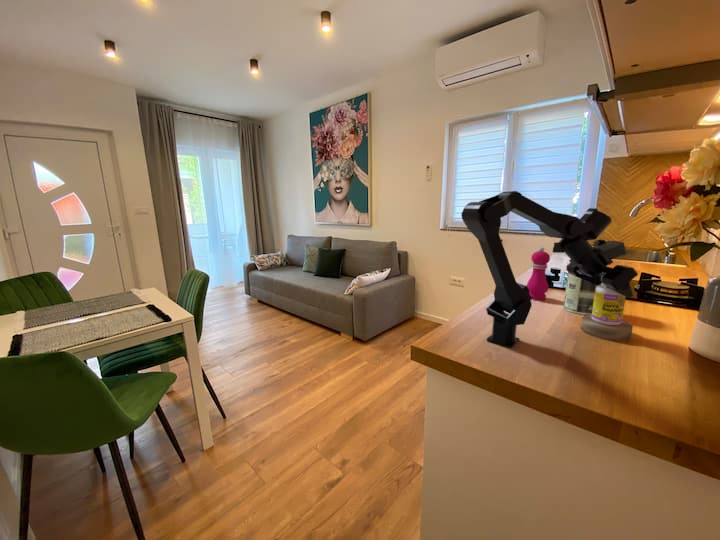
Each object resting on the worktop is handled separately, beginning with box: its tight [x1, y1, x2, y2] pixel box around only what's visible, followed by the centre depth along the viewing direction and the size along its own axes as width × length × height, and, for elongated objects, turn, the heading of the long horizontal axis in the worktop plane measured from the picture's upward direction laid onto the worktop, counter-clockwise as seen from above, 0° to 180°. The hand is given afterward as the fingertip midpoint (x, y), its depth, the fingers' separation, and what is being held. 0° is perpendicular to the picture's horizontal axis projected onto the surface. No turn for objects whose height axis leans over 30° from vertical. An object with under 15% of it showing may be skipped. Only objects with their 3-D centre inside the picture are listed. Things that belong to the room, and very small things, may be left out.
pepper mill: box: [526, 246, 551, 301], centre depth 113 cm, size 7×7×20 cm
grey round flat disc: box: [580, 315, 634, 342], centre depth 84 cm, size 11×11×4 cm
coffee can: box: [562, 271, 604, 316], centre depth 100 cm, size 10×10×14 cm
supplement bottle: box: [592, 276, 627, 325], centre depth 82 cm, size 7×7×13 cm
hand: (616, 291), depth 82 cm, fingers open, 9 cm apart
